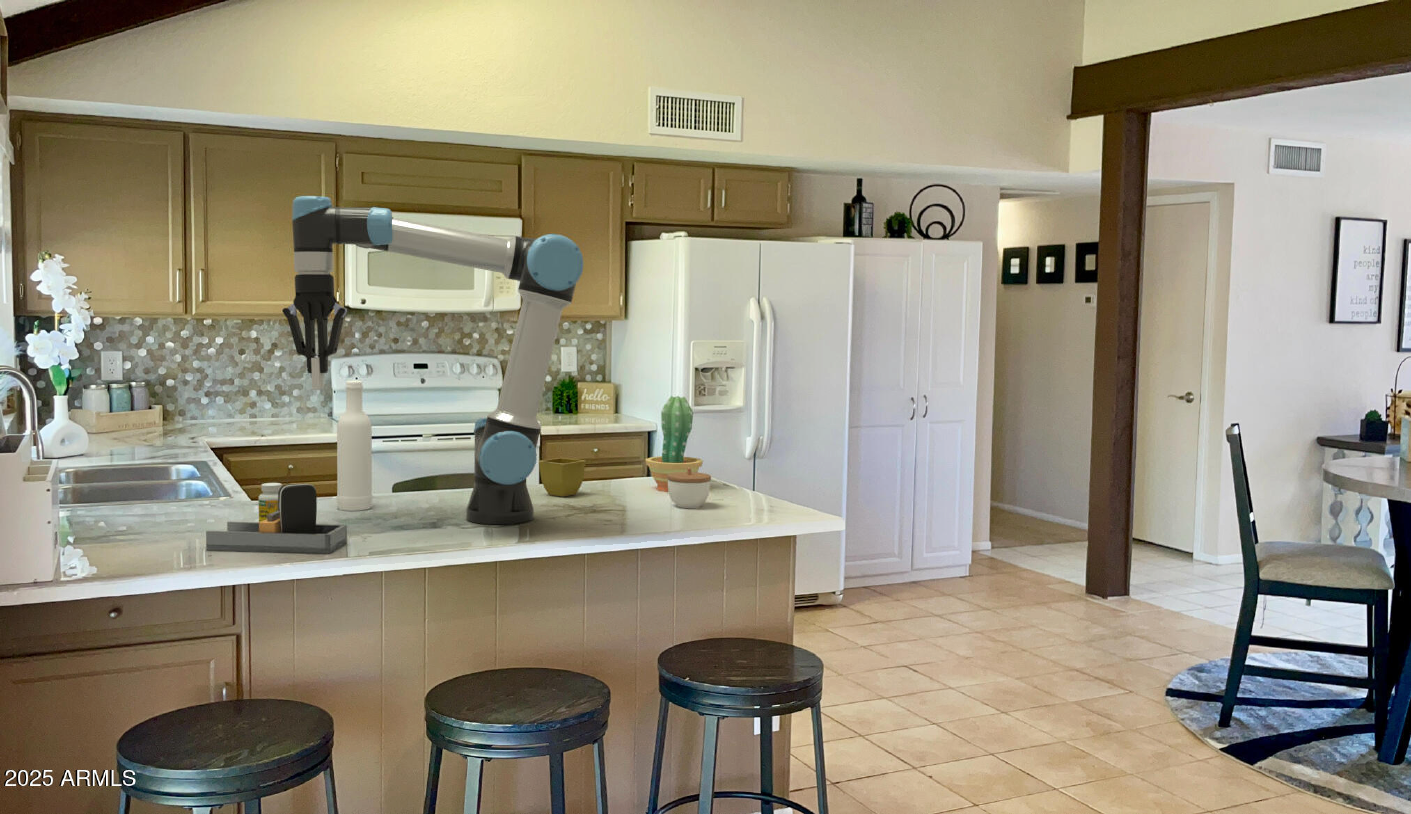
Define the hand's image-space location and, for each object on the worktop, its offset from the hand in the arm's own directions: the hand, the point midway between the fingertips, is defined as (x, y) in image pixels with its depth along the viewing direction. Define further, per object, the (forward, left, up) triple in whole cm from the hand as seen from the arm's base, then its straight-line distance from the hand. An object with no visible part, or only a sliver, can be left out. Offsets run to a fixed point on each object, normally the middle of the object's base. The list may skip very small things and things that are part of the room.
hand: (318, 389), depth 235 cm
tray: (+4, +11, -31) cm, 33 cm away
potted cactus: (-70, -72, -31) cm, 105 cm away
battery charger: (0, +11, -30) cm, 32 cm away
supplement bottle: (+12, -6, -31) cm, 33 cm away
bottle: (+3, -32, -31) cm, 44 cm away
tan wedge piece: (+5, +11, -29) cm, 31 cm away
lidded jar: (-75, -47, -31) cm, 93 cm away
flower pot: (-42, -58, -31) cm, 78 cm away
